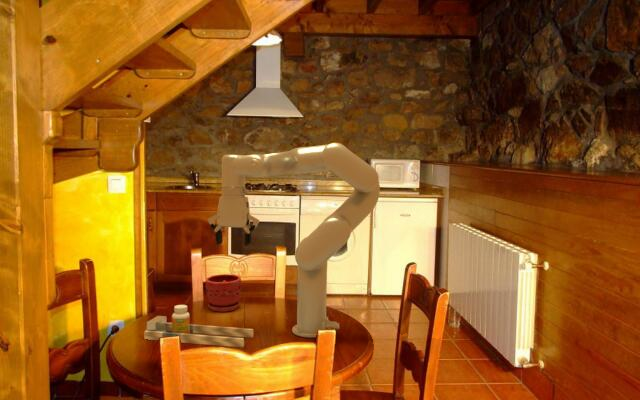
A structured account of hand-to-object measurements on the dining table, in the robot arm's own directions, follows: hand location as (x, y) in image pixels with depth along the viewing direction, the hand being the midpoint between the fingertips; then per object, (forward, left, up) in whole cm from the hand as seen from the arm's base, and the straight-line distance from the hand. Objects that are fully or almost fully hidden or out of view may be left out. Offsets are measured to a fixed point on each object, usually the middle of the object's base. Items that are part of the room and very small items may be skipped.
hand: (233, 244), depth 169 cm
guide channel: (+7, +11, -28) cm, 31 cm away
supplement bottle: (+13, +11, -28) cm, 33 cm away
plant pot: (+12, -22, -28) cm, 38 cm away
